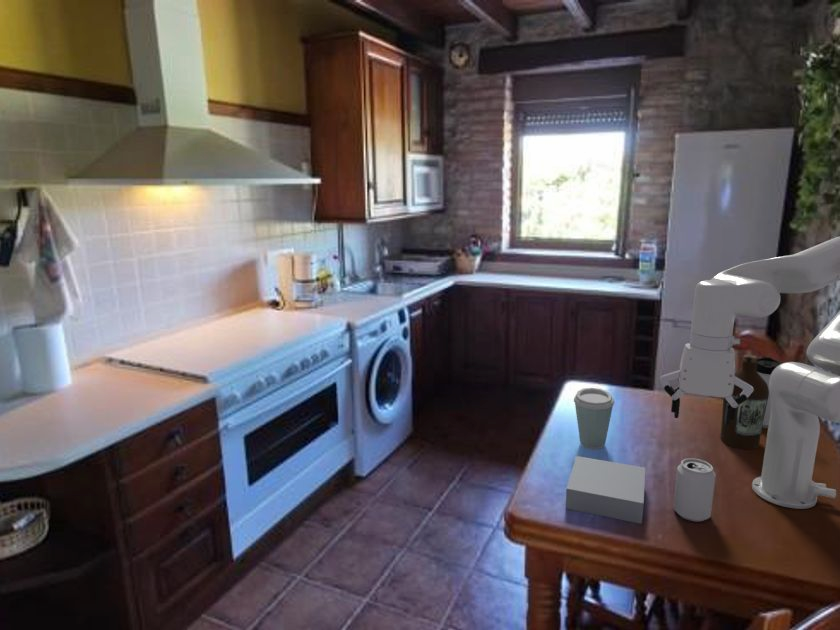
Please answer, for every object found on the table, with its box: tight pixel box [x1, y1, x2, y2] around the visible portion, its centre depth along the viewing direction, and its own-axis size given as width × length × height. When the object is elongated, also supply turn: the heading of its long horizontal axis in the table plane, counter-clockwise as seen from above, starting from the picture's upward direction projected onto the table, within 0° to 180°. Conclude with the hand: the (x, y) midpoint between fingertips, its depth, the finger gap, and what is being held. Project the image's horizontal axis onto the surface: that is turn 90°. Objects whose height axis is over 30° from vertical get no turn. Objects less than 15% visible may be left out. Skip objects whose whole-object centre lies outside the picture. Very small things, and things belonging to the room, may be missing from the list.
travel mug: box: [756, 356, 781, 429], centre depth 162 cm, size 6×7×20 cm
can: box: [672, 457, 717, 523], centre depth 120 cm, size 8×8×12 cm
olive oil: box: [719, 354, 769, 450], centre depth 151 cm, size 11×11×25 cm
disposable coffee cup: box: [573, 387, 615, 450], centre depth 152 cm, size 11×11×15 cm
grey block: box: [565, 455, 646, 525], centre depth 128 cm, size 16×16×5 cm
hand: (701, 419), depth 116 cm, fingers open, 9 cm apart
